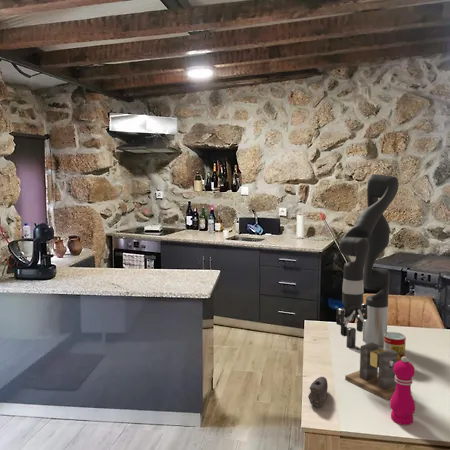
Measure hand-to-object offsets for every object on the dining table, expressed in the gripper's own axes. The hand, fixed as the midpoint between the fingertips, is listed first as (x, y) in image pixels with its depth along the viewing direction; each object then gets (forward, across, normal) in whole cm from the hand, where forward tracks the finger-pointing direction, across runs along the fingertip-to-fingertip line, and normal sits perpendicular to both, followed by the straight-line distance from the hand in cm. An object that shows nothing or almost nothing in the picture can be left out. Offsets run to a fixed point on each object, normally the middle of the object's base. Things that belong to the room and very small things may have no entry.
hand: (351, 333), depth 169 cm
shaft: (+6, 0, +8) cm, 10 cm away
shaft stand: (+15, 0, +12) cm, 19 cm away
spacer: (+8, 0, +12) cm, 14 cm away
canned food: (+15, -19, +5) cm, 25 cm away
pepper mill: (+16, +12, +30) cm, 36 cm away
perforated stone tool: (+16, +24, +8) cm, 30 cm away
